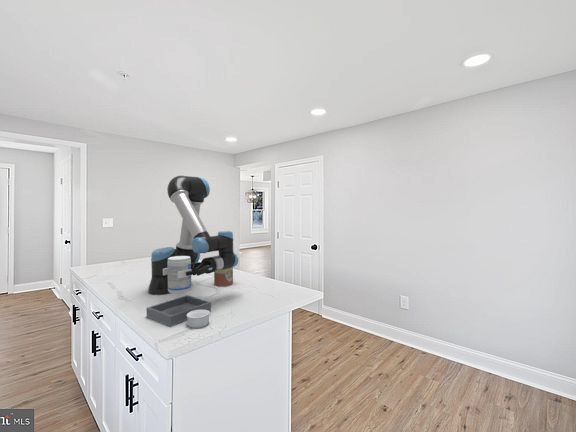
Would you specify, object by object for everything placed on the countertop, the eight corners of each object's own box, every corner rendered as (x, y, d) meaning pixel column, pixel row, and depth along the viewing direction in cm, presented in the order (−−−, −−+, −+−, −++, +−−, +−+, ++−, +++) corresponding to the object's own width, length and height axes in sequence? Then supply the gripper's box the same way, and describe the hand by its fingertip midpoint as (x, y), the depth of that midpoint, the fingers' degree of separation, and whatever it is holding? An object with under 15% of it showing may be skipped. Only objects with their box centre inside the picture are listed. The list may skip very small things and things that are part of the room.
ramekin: (181, 326, 109) (181, 315, 109) (196, 318, 117) (196, 308, 117) (200, 330, 106) (200, 319, 106) (214, 321, 114) (214, 311, 114)
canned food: (223, 287, 161) (223, 267, 161) (210, 284, 167) (209, 264, 167) (237, 283, 171) (237, 263, 170) (223, 280, 177) (223, 261, 176)
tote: (146, 317, 118) (146, 307, 118) (186, 303, 135) (186, 295, 135) (170, 326, 109) (170, 316, 109) (210, 310, 125) (210, 302, 125)
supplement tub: (193, 292, 120) (193, 258, 119) (170, 295, 115) (169, 260, 114) (188, 286, 128) (187, 254, 127) (165, 290, 123) (165, 256, 122)
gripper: (228, 275, 130) (187, 286, 111) (197, 269, 142) (155, 278, 124) (228, 259, 130) (187, 267, 111) (196, 254, 142) (155, 261, 123)
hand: (170, 273), depth 117 cm, fingers closed on supplement tub, 9 cm apart
